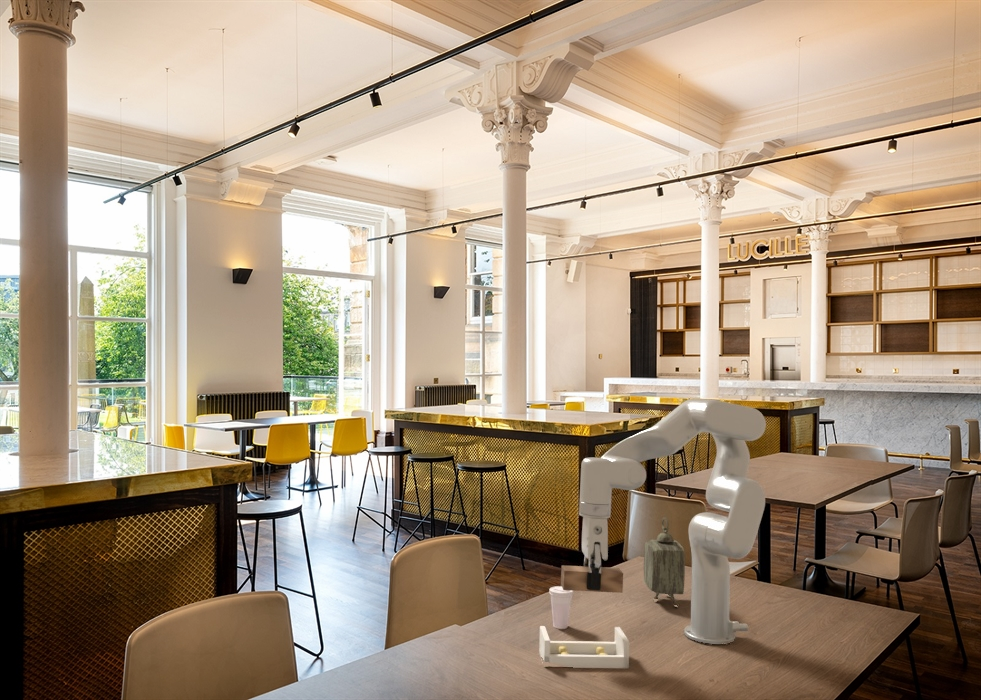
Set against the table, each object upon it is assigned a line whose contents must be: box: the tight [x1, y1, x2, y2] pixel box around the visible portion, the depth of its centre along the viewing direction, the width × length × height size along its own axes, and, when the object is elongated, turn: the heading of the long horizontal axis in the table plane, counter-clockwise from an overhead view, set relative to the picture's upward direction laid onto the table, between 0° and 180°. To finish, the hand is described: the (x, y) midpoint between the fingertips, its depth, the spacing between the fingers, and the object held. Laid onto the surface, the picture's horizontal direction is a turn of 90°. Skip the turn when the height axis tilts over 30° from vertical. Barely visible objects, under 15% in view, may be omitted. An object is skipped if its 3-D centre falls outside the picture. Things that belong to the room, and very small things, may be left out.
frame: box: [538, 625, 630, 669], centre depth 165 cm, size 19×9×6 cm, turn 93°
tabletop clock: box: [643, 516, 686, 606], centre depth 211 cm, size 14×9×25 cm, turn 179°
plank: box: [560, 565, 624, 594], centre depth 169 cm, size 14×5×4 cm, turn 91°
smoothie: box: [548, 585, 574, 630], centre depth 187 cm, size 6×6×14 cm
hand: (591, 585), depth 169 cm, fingers closed on plank, 5 cm apart
